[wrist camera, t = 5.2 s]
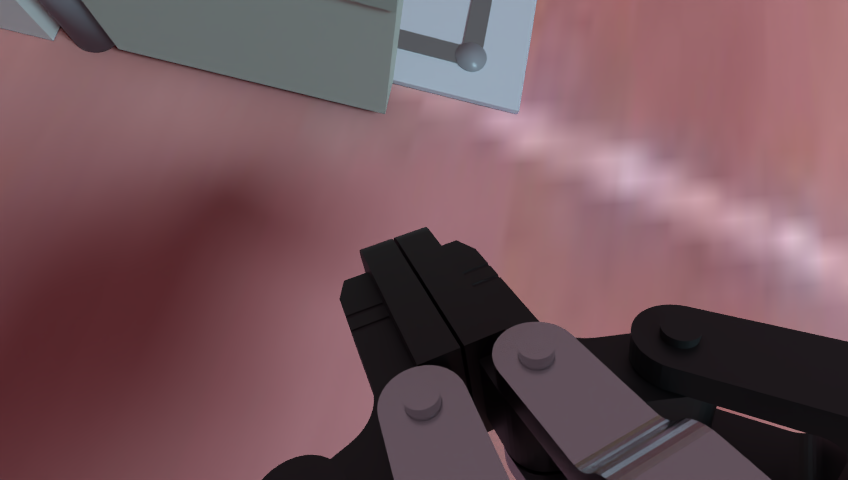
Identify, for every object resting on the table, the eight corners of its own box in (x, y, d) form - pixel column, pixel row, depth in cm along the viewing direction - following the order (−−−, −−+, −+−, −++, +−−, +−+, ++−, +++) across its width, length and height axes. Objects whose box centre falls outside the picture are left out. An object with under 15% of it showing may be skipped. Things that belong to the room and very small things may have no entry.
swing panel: (117, 52, 19) (-11, -113, 12) (134, 11, 20) (20, -168, 13) (384, 117, 20) (398, -5, 13) (393, 77, 20) (411, -61, 14)
